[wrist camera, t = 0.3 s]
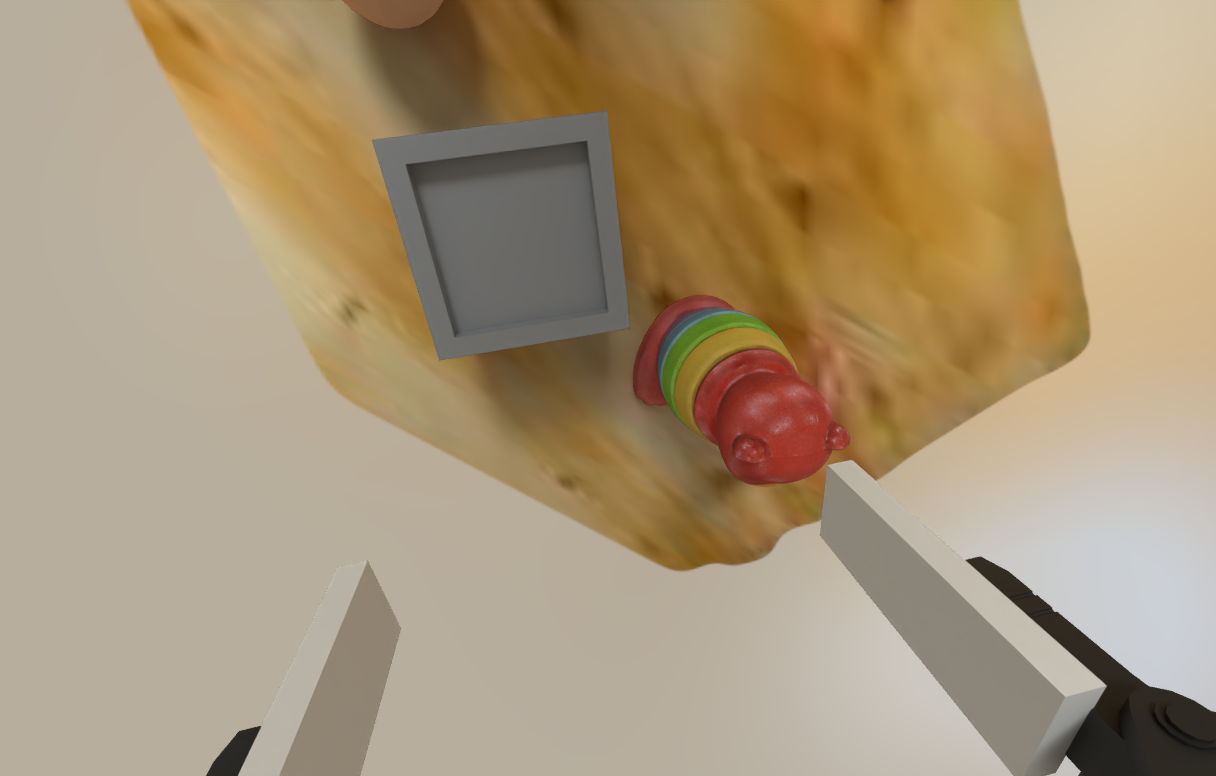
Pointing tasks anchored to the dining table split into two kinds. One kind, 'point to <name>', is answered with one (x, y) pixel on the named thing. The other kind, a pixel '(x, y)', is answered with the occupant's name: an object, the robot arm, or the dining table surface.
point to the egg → (396, 11)
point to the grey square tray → (510, 231)
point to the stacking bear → (736, 391)
